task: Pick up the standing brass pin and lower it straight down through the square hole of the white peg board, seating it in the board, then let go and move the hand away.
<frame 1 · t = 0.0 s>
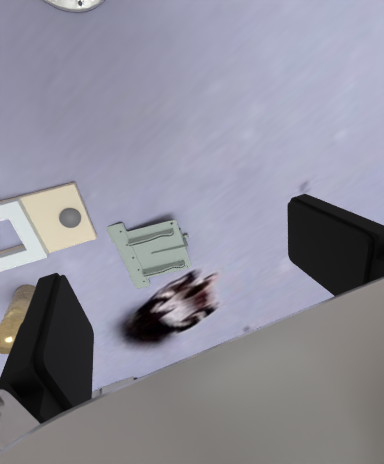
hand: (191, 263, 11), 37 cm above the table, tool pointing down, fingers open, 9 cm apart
metal bracket: (152, 246, 52), on the table
brass pin: (27, 293, 47), on the table
white peg board: (4, 232, 42), on the table
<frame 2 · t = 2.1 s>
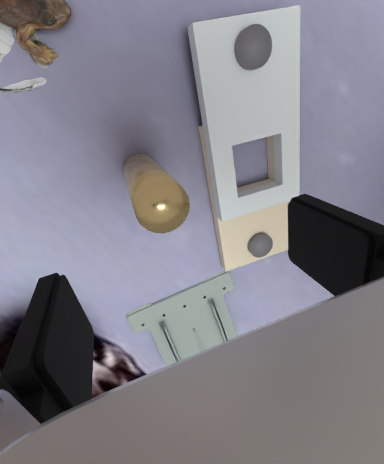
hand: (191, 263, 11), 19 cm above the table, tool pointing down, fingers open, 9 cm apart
metal bracket: (190, 319, 39), on the table
brass pin: (140, 171, 27), on the table
white peg board: (245, 161, 30), on the table
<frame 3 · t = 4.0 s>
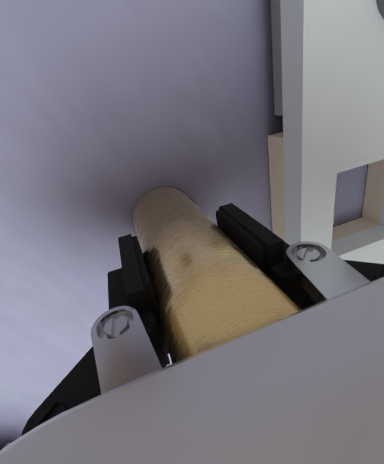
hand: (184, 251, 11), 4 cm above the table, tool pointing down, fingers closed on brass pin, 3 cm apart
brass pin: (164, 216, 15), on the table, touching gripper
white peg board: (333, 193, 18), on the table
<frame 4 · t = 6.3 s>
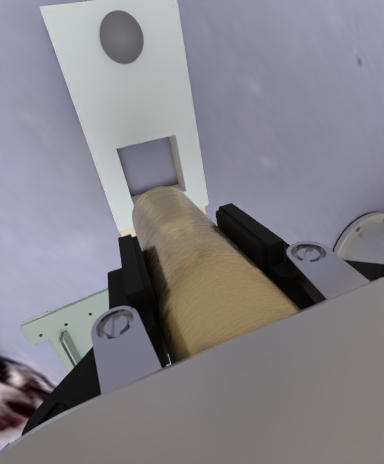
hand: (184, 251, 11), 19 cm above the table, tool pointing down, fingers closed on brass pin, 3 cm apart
metal bracket: (104, 328, 35), on the table
brass pin: (163, 216, 15), point 14 cm above the table, touching gripper
white peg board: (148, 165, 28), on the table
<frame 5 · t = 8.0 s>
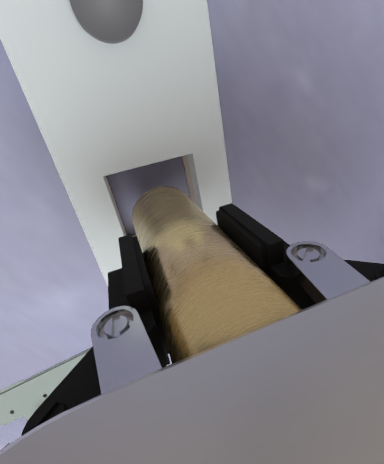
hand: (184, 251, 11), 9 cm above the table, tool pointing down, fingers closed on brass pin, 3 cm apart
metal bracket: (99, 389, 27), on the table
brass pin: (163, 216, 15), point 5 cm above the table, touching gripper
white peg board: (152, 194, 20), on the table
when the fingers open (5 cm above the table, at t = 9.5 s): brass pin stays where it is, resting in white peg board.
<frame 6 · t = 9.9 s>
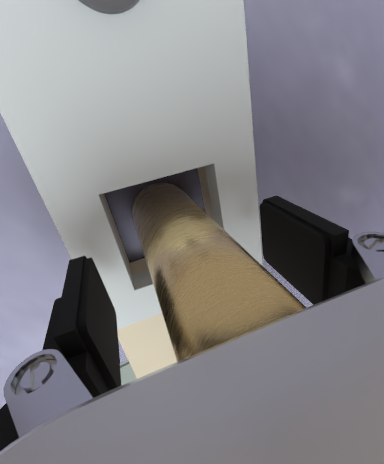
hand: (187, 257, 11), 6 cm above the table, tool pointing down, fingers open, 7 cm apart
brass pin: (161, 211, 16), resting in white peg board
white peg board: (160, 211, 16), on the table
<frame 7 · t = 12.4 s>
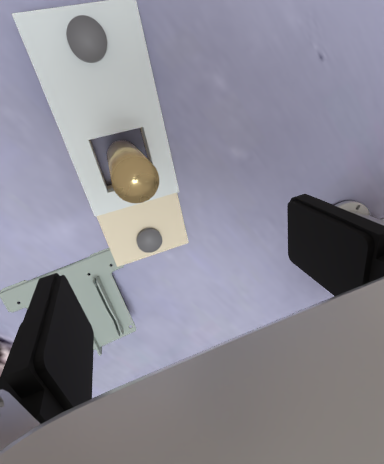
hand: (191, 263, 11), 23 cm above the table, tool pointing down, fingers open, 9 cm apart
metal bracket: (81, 299, 37), on the table
brass pin: (123, 156, 30), resting in white peg board
white peg board: (122, 156, 30), on the table
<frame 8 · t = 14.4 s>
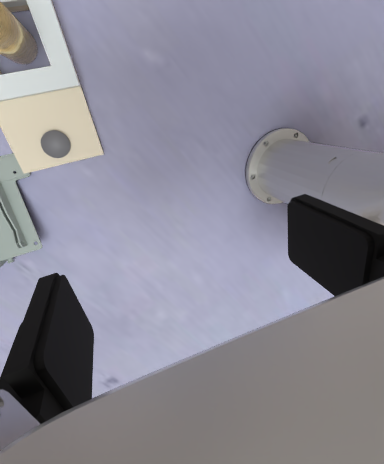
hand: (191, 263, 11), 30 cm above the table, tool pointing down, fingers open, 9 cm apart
brass pin: (18, 45, 29), resting in white peg board
white peg board: (18, 45, 29), on the table
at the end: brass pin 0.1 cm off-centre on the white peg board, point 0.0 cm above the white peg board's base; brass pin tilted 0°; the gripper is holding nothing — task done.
